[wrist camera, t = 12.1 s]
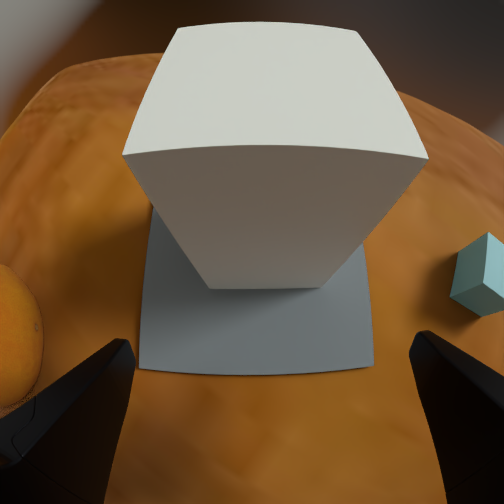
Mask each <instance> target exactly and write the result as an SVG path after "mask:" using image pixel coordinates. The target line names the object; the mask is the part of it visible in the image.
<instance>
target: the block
mask: <svg viewBox="0 0 504 504" xmlns="http://www.w3.org/2000/svg"><path fill="white" fill-rule="evenodd" d="M450 298H452V299H453V300H455V301H457V302H458V303H460V304H461V305H463V306H465V307H466V308H468V309H469V310H471V311H473V312H474V313H476V314H477V315H479V316H481V317H483V316H486V315H490V314H493V313H496V312H499V311H503V310H504V244H502V243H501V242H500V241H499V240H498V239H496V238H495V237H494V236H493V235H491V234H490V233H489V232H487V233H486V234H484V235H483V236H481V237H480V238H478V239H477V240H475V241H474V242H472V243H471V244H470V245H468V246H466V247H465V248H463V249H462V250H460V251H459V252H458V257H457V263H456V269H455V274H454V279H453V284H452V289H451V293H450Z"/></svg>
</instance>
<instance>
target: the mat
mask: <svg viewBox="0 0 504 504" xmlns="http://www.w3.org/2000/svg"><path fill="white" fill-rule="evenodd" d="M368 366H374V354H373V333H372V318H371V306H370V295H369V285H368V277H367V269H366V261H365V254H364V247H363V242H362V243H361V244H360V246H359V247H358V248H357V249H356V250H355V251H354V252H353V254H352V255H351V256H350V257H349V258H348V259H347V260H346V261H345V262H344V264H343V265H342V266H341V267H340V268H339V269H338V270H337V271H336V272H335V273H334V274H333V276H332V277H331V278H330V279H329V280H328V281H327V282H326V283H325V284H324V285H323V286H322V287H321V288H286V289H209V287H208V286H207V284H206V283H205V282H204V280H203V279H202V277H201V276H200V275H199V273H198V272H197V270H196V269H195V267H194V266H193V265H192V263H191V262H190V260H189V259H188V257H187V256H186V254H185V253H184V251H183V250H182V249H181V247H180V246H179V244H178V243H177V241H176V240H175V238H174V237H173V235H172V234H171V232H170V231H169V229H168V228H167V226H166V225H165V223H164V222H163V220H162V219H161V217H160V215H159V214H158V212H157V211H156V209H155V208H154V207H153V213H152V219H151V226H150V233H149V240H148V247H147V255H146V264H145V273H144V283H143V294H142V307H141V323H140V347H139V368H142V369H151V370H160V371H171V372H183V373H198V374H222V375H274V374H297V373H312V372H325V371H335V370H345V369H353V368H361V367H368Z"/></svg>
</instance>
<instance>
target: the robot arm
mask: <svg viewBox="0 0 504 504" xmlns="http://www.w3.org/2000/svg"><path fill="white" fill-rule="evenodd" d="M409 358H410V362H411V366H412V370H413V374H414V378H415V382H416V386H417V390H418V394H419V397H420V400H421V403H422V406H423V409H424V412H425V415H426V419H427V422H428V425H429V428H430V432H431V435H432V439H433V442H434V446H435V449H436V453H437V457H438V461H439V465H440V469H441V474H442V478H443V483H444V488H445V492H446V499H447V504H504V376H502V375H501V374H499V373H497V372H496V371H494V370H493V369H491V368H490V367H488V366H486V365H485V364H483V363H482V362H480V361H478V360H477V359H475V358H474V357H472V356H470V355H469V354H467V353H465V352H464V351H462V350H461V349H459V348H457V347H456V346H454V345H452V344H451V343H449V342H447V341H446V340H444V339H442V338H441V337H439V336H437V335H436V334H434V333H433V332H431V331H429V330H425V331H419V332H418V333H417V334H416V335H415V338H414V340H413V343H412V345H411V348H410V350H409ZM135 366H136V359H135V356H134V353H133V351H132V348H131V345H130V343H129V341H128V340H126V339H119V338H116V339H114V340H112V341H111V342H110V343H108V344H107V345H105V346H104V347H103V348H101V349H100V350H98V351H97V352H96V353H94V354H93V355H91V356H90V357H89V358H87V359H86V360H84V361H83V362H82V363H80V364H79V365H77V366H76V367H75V368H73V369H72V370H70V371H69V372H68V373H66V374H65V375H63V376H62V377H61V378H59V379H58V380H56V381H55V382H54V383H52V384H51V385H50V386H48V387H47V388H45V389H44V390H43V391H41V392H40V393H38V394H37V395H36V396H34V397H33V398H31V399H30V400H29V401H27V402H26V403H24V404H23V405H22V406H20V407H19V408H17V409H16V410H14V411H12V412H11V413H9V414H8V415H6V416H4V417H3V418H1V419H0V504H104V499H105V494H106V489H107V485H108V480H109V476H110V471H111V467H112V463H113V459H114V455H115V451H116V447H117V443H118V439H119V436H120V432H121V428H122V425H123V421H124V418H125V414H126V411H127V407H128V403H129V398H130V392H131V387H132V381H133V376H134V371H135Z"/></svg>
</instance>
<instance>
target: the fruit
mask: <svg viewBox="0 0 504 504" xmlns="http://www.w3.org/2000/svg"><path fill="white" fill-rule="evenodd" d="M43 348H44V330H43V322H42V317H41V312H40V308H39V305H38V303H37V301H36V299H35V297H34V295H33V294H32V292H31V291H30V290H29V288H28V287H27V285H26V284H25V283H24V282H23V280H22V279H21V278H20V277H19V276H18V275H17V274H16V273H15V272H14V271H13V270H11V269H10V268H8V267H7V266H5V265H2V264H0V407H5V406H9V405H12V404H14V403H16V402H18V401H20V400H21V399H22V398H23V397H24V396H26V394H27V393H28V392H29V391H30V389H31V388H32V386H33V385H34V384H35V382H36V380H37V378H38V375H39V372H40V369H41V362H42V355H43Z"/></svg>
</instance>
